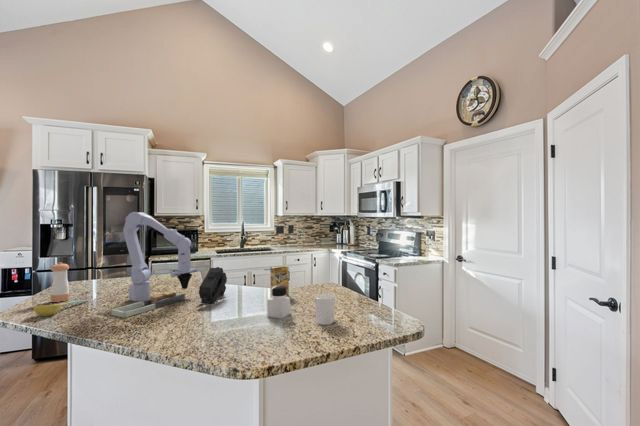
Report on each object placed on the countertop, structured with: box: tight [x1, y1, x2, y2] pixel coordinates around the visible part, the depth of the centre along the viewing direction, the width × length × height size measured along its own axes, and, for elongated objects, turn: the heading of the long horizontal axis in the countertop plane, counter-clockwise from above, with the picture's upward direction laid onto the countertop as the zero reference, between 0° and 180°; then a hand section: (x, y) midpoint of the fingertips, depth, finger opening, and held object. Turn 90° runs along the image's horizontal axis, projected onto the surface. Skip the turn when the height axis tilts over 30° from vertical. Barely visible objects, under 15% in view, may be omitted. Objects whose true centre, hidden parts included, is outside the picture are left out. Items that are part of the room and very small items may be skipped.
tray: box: [110, 301, 156, 319], centre depth 131 cm, size 9×13×3 cm
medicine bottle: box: [266, 286, 291, 320], centre depth 128 cm, size 7×7×12 cm
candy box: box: [269, 265, 290, 298], centre depth 159 cm, size 9×4×15 cm, turn 125°
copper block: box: [150, 294, 164, 305], centre depth 141 cm, size 4×4×4 cm
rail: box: [142, 292, 187, 309], centre depth 144 cm, size 10×16×4 cm, turn 154°
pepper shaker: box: [50, 262, 71, 303], centre depth 152 cm, size 7×7×19 cm
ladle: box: [33, 299, 90, 317], centre depth 138 cm, size 9×26×6 cm, turn 179°
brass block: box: [161, 291, 176, 299], centre depth 146 cm, size 4×4×4 cm
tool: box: [198, 266, 228, 304], centre depth 150 cm, size 7×21×16 cm, turn 174°
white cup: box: [314, 293, 336, 326], centre depth 119 cm, size 8×8×10 cm
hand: (184, 288), depth 154 cm, fingers closed
